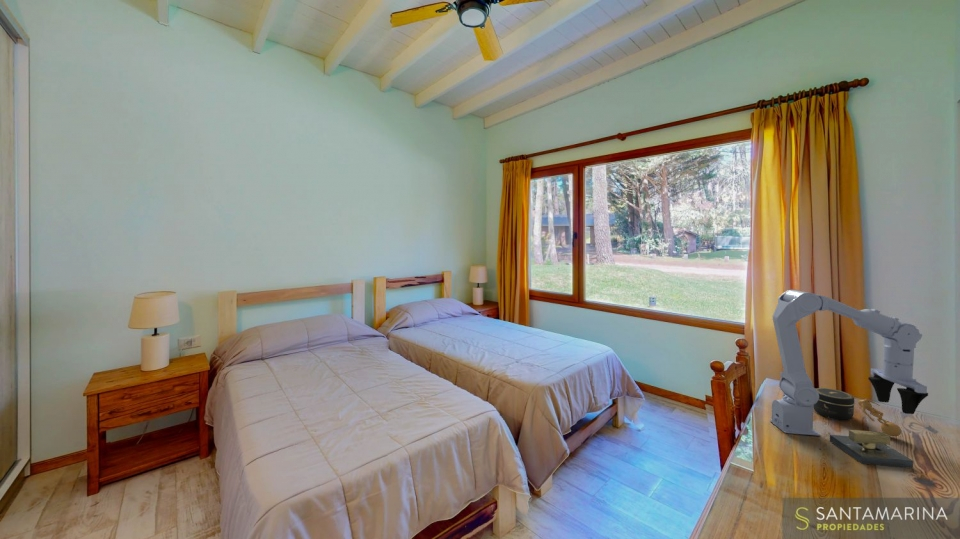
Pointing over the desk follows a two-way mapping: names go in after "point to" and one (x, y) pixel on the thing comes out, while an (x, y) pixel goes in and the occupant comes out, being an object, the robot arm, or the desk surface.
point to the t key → (869, 438)
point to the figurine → (880, 418)
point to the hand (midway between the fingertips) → (895, 407)
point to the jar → (834, 404)
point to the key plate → (871, 453)
